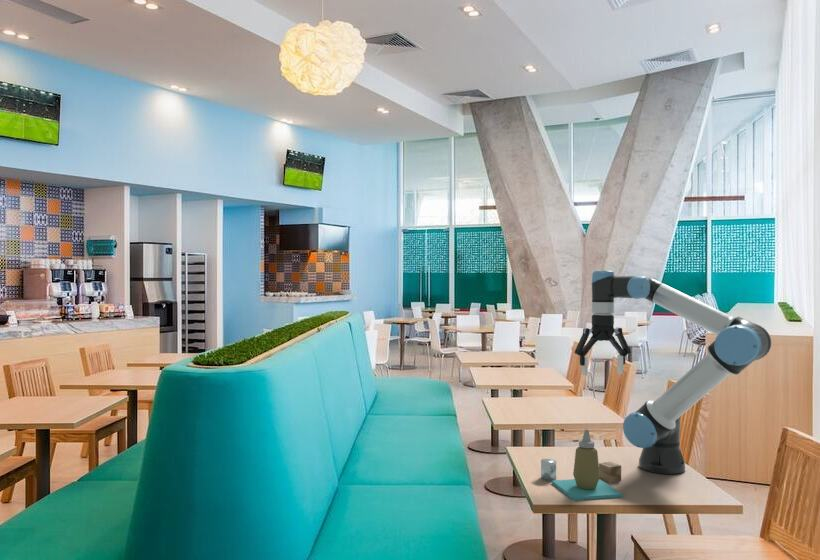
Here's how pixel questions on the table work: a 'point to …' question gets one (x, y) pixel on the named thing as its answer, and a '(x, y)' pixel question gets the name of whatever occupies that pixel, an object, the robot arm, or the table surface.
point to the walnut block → (610, 471)
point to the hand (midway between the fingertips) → (602, 374)
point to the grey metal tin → (548, 469)
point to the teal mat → (586, 490)
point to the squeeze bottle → (586, 464)
